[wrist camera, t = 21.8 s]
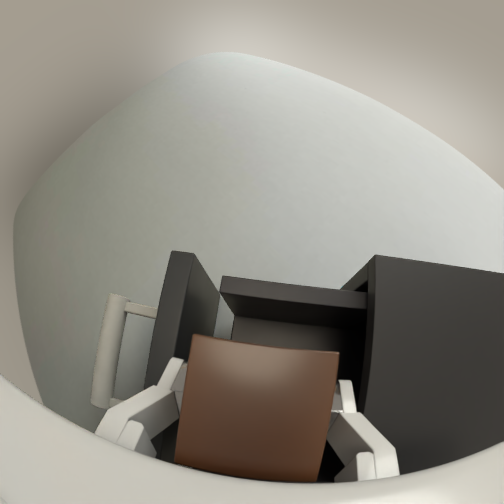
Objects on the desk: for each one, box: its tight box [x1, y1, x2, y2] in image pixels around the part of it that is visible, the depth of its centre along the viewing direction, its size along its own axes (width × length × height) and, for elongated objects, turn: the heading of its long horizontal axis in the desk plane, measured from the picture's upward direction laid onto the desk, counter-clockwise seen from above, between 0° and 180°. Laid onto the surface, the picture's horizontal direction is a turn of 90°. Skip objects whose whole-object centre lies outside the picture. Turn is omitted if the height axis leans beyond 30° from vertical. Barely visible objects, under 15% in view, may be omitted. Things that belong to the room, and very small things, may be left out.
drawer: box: [91, 251, 368, 483], centre depth 14 cm, size 18×12×8 cm, turn 82°
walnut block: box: [174, 334, 339, 482], centre depth 10 cm, size 4×4×8 cm
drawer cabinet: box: [340, 255, 504, 475], centre depth 13 cm, size 15×13×10 cm
